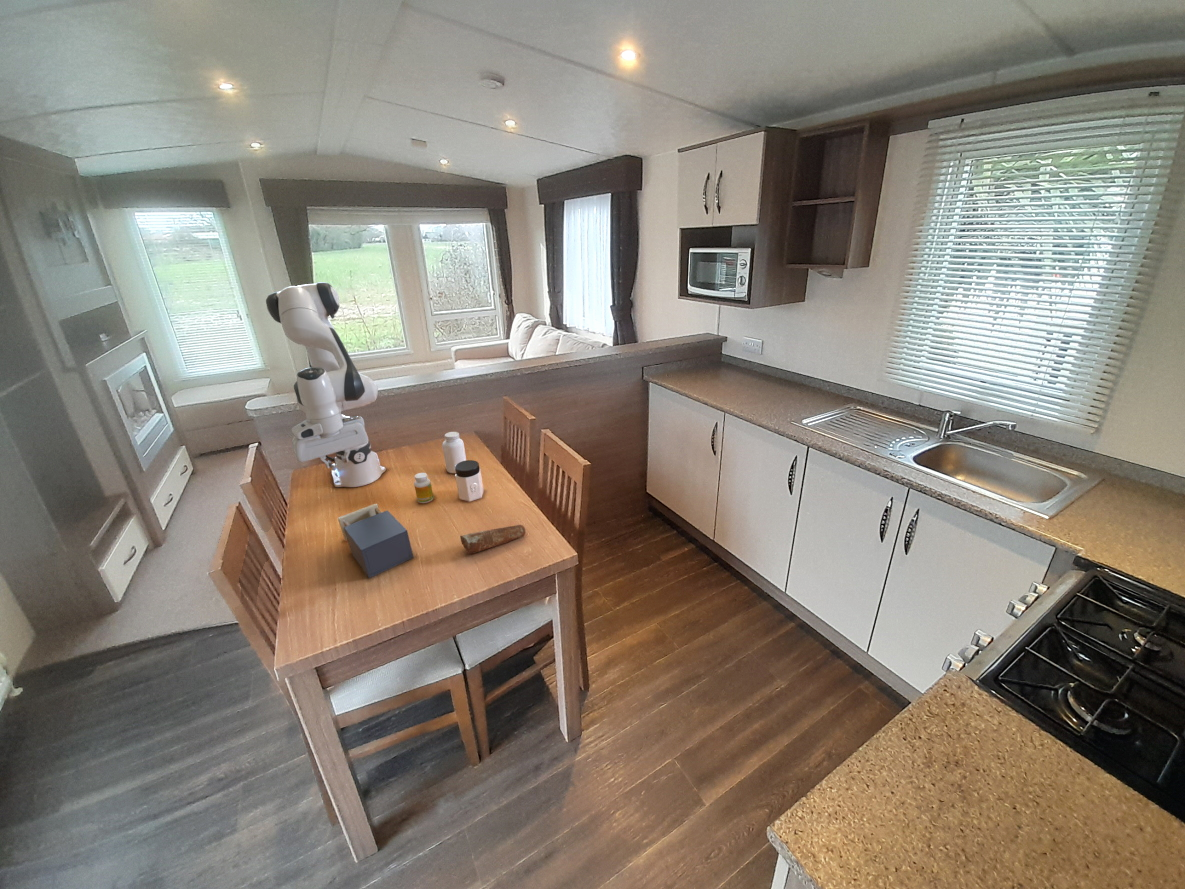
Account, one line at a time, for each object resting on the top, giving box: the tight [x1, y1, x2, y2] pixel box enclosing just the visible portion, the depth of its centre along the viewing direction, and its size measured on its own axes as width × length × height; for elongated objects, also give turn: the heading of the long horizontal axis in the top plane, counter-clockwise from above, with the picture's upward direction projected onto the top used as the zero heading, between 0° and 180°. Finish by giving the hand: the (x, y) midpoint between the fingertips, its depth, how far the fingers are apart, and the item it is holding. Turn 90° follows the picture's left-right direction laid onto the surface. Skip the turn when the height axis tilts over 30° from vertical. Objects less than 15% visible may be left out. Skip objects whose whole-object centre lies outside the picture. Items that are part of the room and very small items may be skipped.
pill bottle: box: [441, 431, 467, 474], centre depth 184 cm, size 8×8×15 cm
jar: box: [454, 459, 484, 503], centre depth 166 cm, size 9×8×12 cm
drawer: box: [337, 503, 382, 541], centre depth 144 cm, size 18×11×8 cm, turn 42°
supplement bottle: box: [413, 472, 434, 504], centre depth 165 cm, size 5×5×10 cm
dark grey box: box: [344, 509, 414, 579], centre depth 137 cm, size 15×13×10 cm
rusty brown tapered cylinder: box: [459, 524, 527, 554], centre depth 141 cm, size 6×19×6 cm, turn 116°
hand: (337, 464), depth 146 cm, fingers open, 3 cm apart
